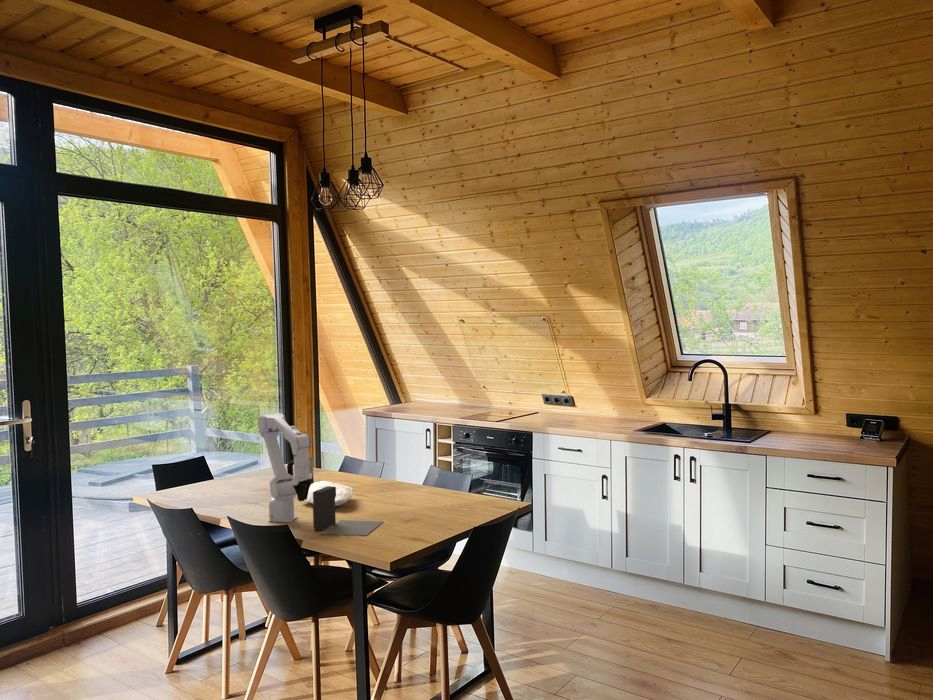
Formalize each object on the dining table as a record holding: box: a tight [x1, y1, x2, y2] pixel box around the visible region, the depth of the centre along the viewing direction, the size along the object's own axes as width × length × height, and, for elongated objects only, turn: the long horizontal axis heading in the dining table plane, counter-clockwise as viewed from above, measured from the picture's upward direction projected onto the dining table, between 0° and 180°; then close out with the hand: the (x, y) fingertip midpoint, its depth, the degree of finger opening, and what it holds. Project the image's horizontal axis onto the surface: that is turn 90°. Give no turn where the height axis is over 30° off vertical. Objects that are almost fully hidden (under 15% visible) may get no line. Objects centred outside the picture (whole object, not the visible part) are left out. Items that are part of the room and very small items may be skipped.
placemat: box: [320, 519, 384, 537], centre depth 286 cm, size 18×20×1 cm
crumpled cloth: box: [303, 480, 355, 507], centre depth 329 cm, size 24×35×9 cm
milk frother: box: [286, 456, 315, 484], centre depth 360 cm, size 14×16×15 cm
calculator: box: [312, 486, 337, 532], centre depth 288 cm, size 11×4×15 cm, turn 159°
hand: (302, 500), depth 290 cm, fingers closed
